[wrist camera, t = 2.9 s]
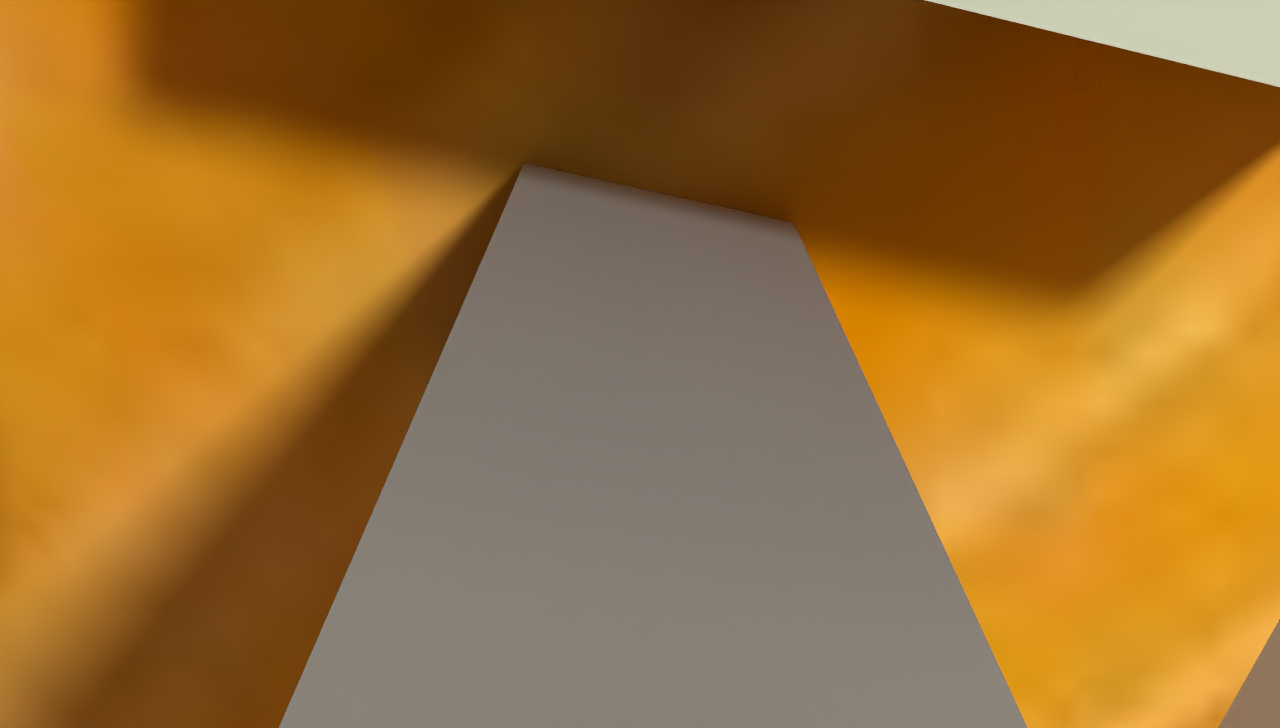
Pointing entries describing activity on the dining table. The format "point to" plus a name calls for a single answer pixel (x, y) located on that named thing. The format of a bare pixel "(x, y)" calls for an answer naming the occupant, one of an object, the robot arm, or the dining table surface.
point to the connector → (648, 501)
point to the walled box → (1161, 29)
